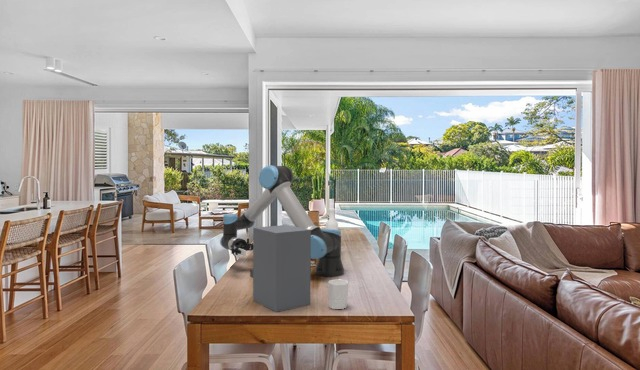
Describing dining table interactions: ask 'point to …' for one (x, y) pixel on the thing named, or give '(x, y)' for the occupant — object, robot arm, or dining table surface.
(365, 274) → the dining table surface
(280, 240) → the pedestal
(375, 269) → the dining table surface
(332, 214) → the bottle
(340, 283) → the white cup
